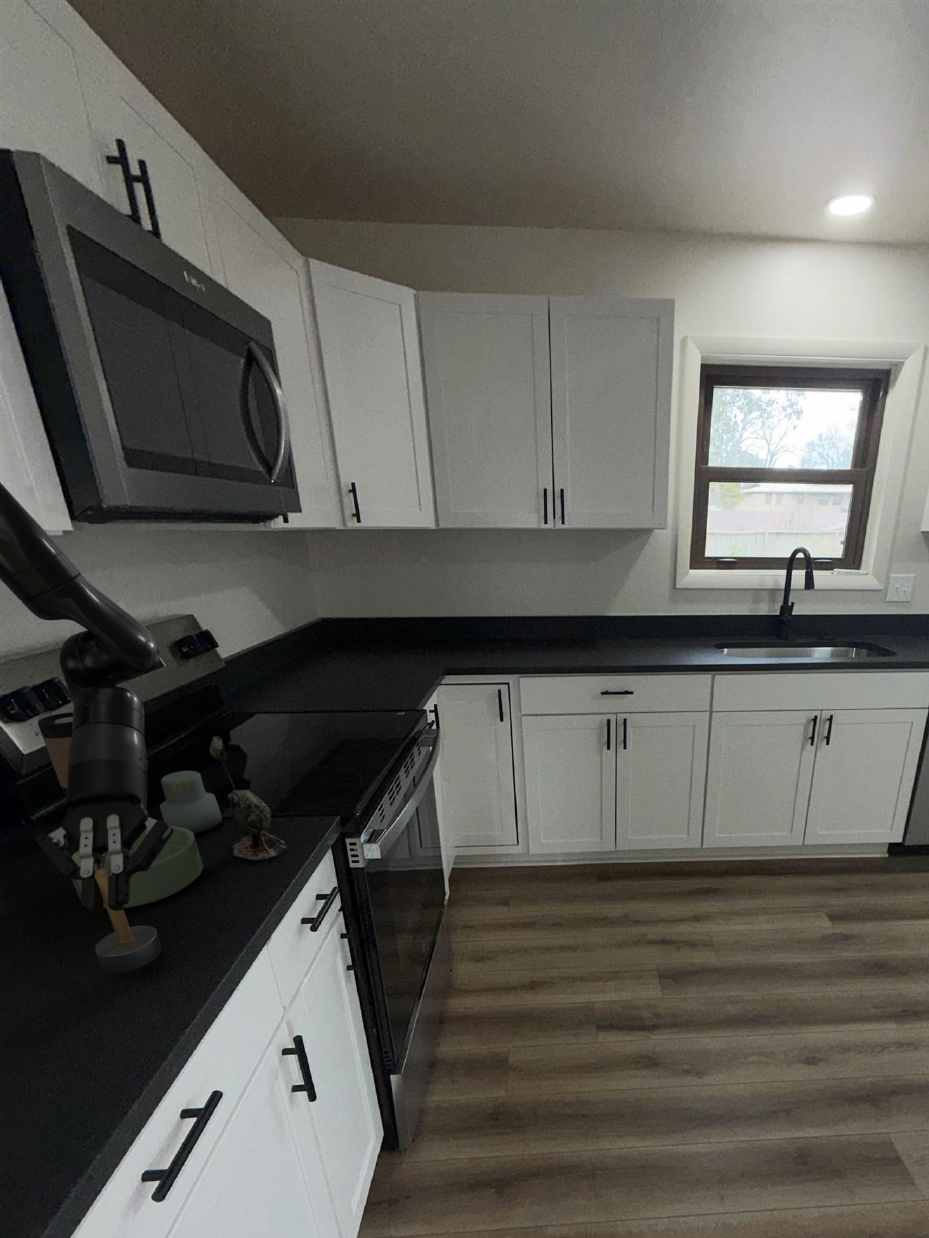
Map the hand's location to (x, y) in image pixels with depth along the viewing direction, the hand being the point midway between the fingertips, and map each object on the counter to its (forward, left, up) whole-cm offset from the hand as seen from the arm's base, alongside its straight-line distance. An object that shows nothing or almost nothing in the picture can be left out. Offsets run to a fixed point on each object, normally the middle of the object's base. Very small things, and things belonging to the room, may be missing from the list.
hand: (105, 910), depth 72 cm
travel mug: (-19, +53, -11) cm, 57 cm away
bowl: (-6, +27, -11) cm, 30 cm away
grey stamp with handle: (0, +2, -8) cm, 8 cm away
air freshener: (-3, +46, -11) cm, 47 cm away
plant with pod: (+9, +32, -11) cm, 35 cm away
